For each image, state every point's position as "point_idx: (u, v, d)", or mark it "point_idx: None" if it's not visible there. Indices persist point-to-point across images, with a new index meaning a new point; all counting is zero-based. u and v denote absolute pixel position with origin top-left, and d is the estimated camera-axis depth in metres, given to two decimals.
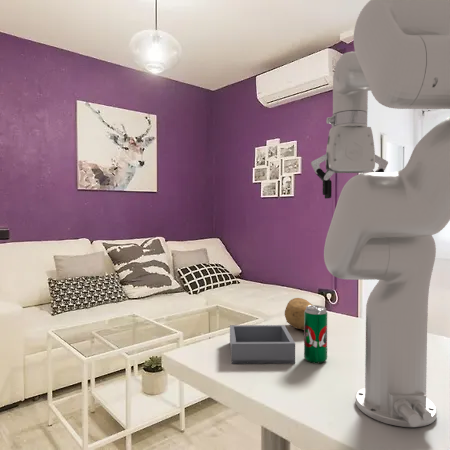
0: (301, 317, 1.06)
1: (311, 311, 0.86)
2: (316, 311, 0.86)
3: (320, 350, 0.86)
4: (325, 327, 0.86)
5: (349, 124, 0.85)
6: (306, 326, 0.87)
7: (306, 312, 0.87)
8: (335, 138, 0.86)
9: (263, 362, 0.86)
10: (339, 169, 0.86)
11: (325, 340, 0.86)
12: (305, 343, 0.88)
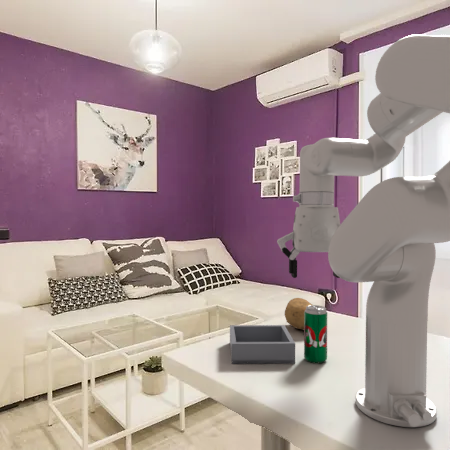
0: (301, 317, 1.06)
1: (311, 311, 0.86)
2: (316, 311, 0.86)
3: (320, 350, 0.86)
4: (325, 327, 0.86)
5: (314, 206, 0.84)
6: (306, 326, 0.87)
7: (306, 312, 0.87)
8: (300, 219, 0.85)
9: (263, 362, 0.86)
10: (304, 250, 0.85)
11: (325, 340, 0.86)
12: (305, 343, 0.88)
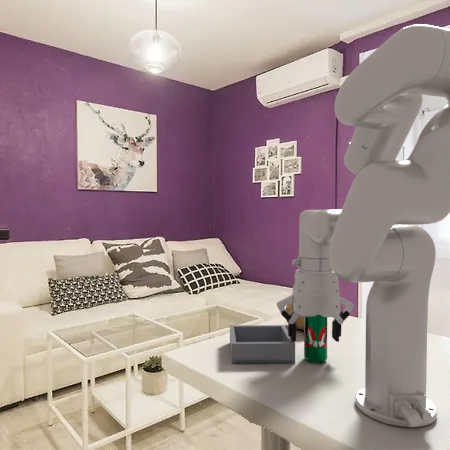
0: (301, 317, 1.06)
1: None
2: None
3: (320, 350, 0.86)
4: (325, 327, 0.86)
5: (314, 272, 0.84)
6: (306, 326, 0.87)
7: None
8: (300, 284, 0.85)
9: (263, 362, 0.86)
10: (303, 315, 0.86)
11: (325, 340, 0.86)
12: (305, 343, 0.88)
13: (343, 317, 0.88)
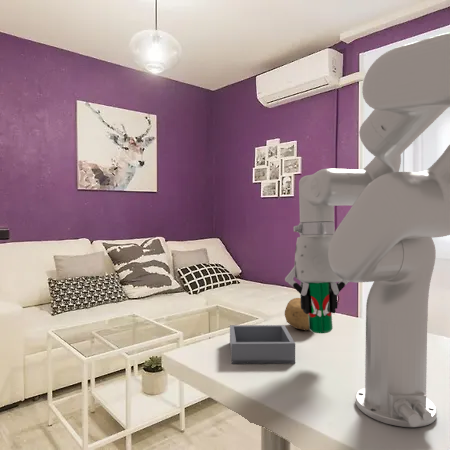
0: (301, 317, 1.06)
1: None
2: None
3: (325, 319, 0.84)
4: (328, 295, 0.85)
5: (315, 236, 0.84)
6: (309, 296, 0.86)
7: None
8: (302, 249, 0.85)
9: (263, 362, 0.86)
10: (307, 281, 0.84)
11: (329, 309, 0.85)
12: (309, 314, 0.86)
13: (338, 288, 0.86)
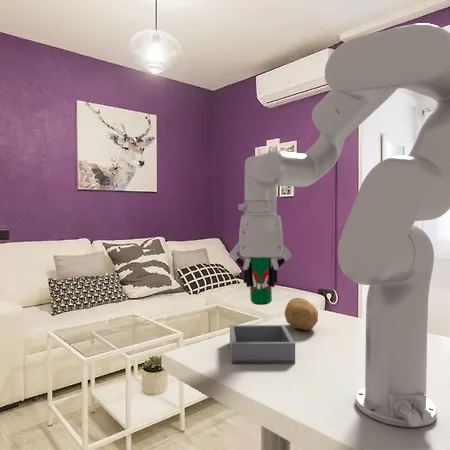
0: (301, 317, 1.06)
1: None
2: None
3: (263, 292, 0.90)
4: (268, 270, 0.91)
5: (256, 214, 0.89)
6: (250, 270, 0.91)
7: None
8: (244, 226, 0.90)
9: (263, 362, 0.86)
10: (248, 256, 0.90)
11: (268, 282, 0.91)
12: (250, 287, 0.92)
13: (279, 263, 0.92)
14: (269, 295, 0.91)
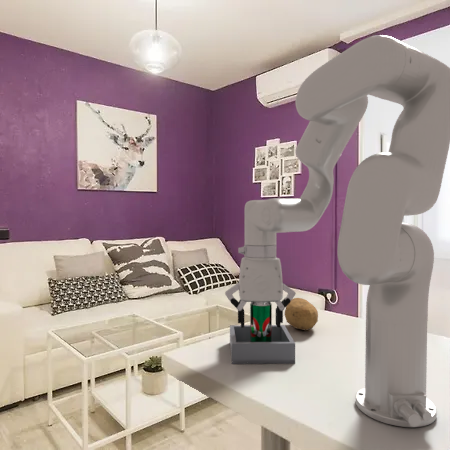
0: (301, 317, 1.06)
1: (255, 302, 0.91)
2: (260, 303, 0.90)
3: (264, 340, 0.90)
4: (269, 318, 0.91)
5: (256, 259, 0.89)
6: (251, 317, 0.92)
7: (251, 304, 0.92)
8: (244, 271, 0.90)
9: (263, 362, 0.86)
10: (248, 300, 0.90)
11: (269, 330, 0.91)
12: (250, 333, 0.92)
13: (284, 304, 0.92)
14: None
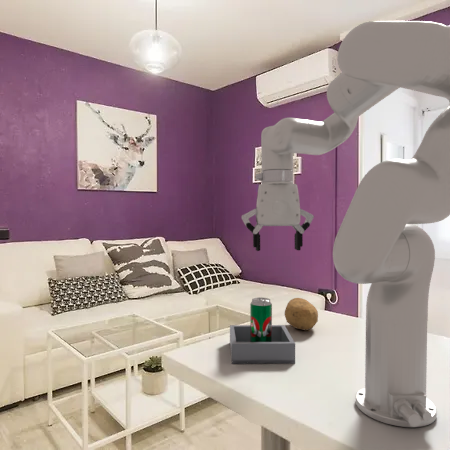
0: (301, 317, 1.06)
1: (255, 302, 0.91)
2: (260, 302, 0.90)
3: (264, 340, 0.90)
4: (269, 318, 0.91)
5: (274, 182, 0.90)
6: (251, 317, 0.92)
7: (251, 304, 0.92)
8: (262, 195, 0.91)
9: (263, 362, 0.86)
10: (266, 224, 0.91)
11: (269, 330, 0.91)
12: (251, 333, 0.92)
13: (304, 227, 0.93)
14: None
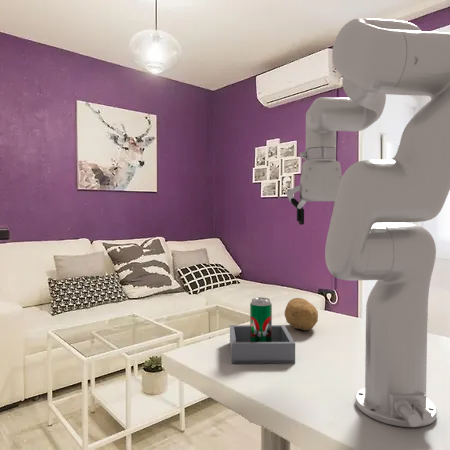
0: (301, 317, 1.06)
1: (255, 302, 0.91)
2: (260, 303, 0.90)
3: (264, 340, 0.90)
4: (269, 318, 0.91)
5: (319, 159, 0.95)
6: (251, 317, 0.92)
7: (251, 304, 0.92)
8: (307, 171, 0.96)
9: (263, 362, 0.86)
10: (310, 199, 0.96)
11: (269, 330, 0.91)
12: (250, 333, 0.92)
13: None
14: None
